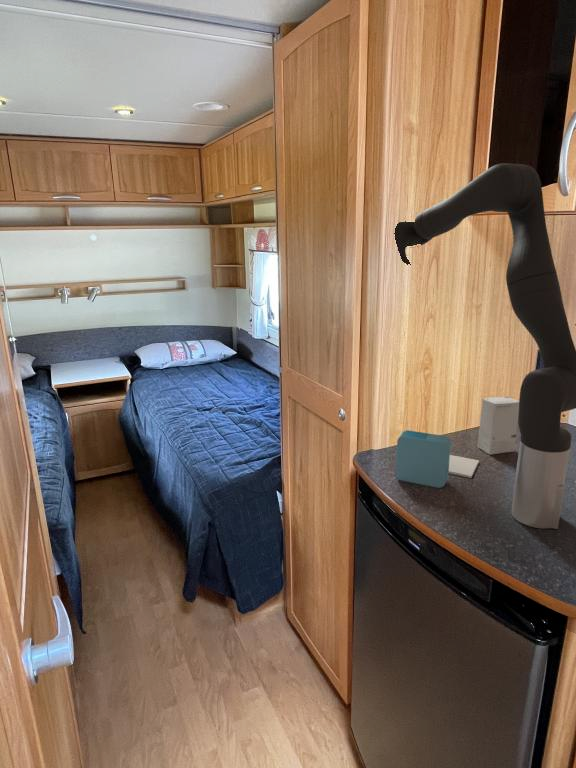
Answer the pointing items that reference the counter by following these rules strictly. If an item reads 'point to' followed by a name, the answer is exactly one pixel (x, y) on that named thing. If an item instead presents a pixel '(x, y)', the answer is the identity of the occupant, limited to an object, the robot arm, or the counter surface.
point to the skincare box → (498, 425)
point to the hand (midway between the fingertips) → (390, 348)
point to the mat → (462, 466)
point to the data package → (423, 458)
